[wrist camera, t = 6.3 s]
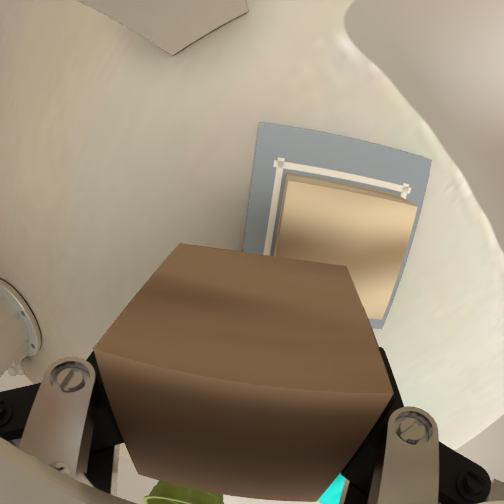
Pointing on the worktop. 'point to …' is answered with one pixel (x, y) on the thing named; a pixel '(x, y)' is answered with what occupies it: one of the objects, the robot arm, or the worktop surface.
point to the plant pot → (180, 495)
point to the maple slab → (347, 233)
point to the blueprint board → (325, 167)
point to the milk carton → (170, 18)
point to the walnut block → (244, 374)
